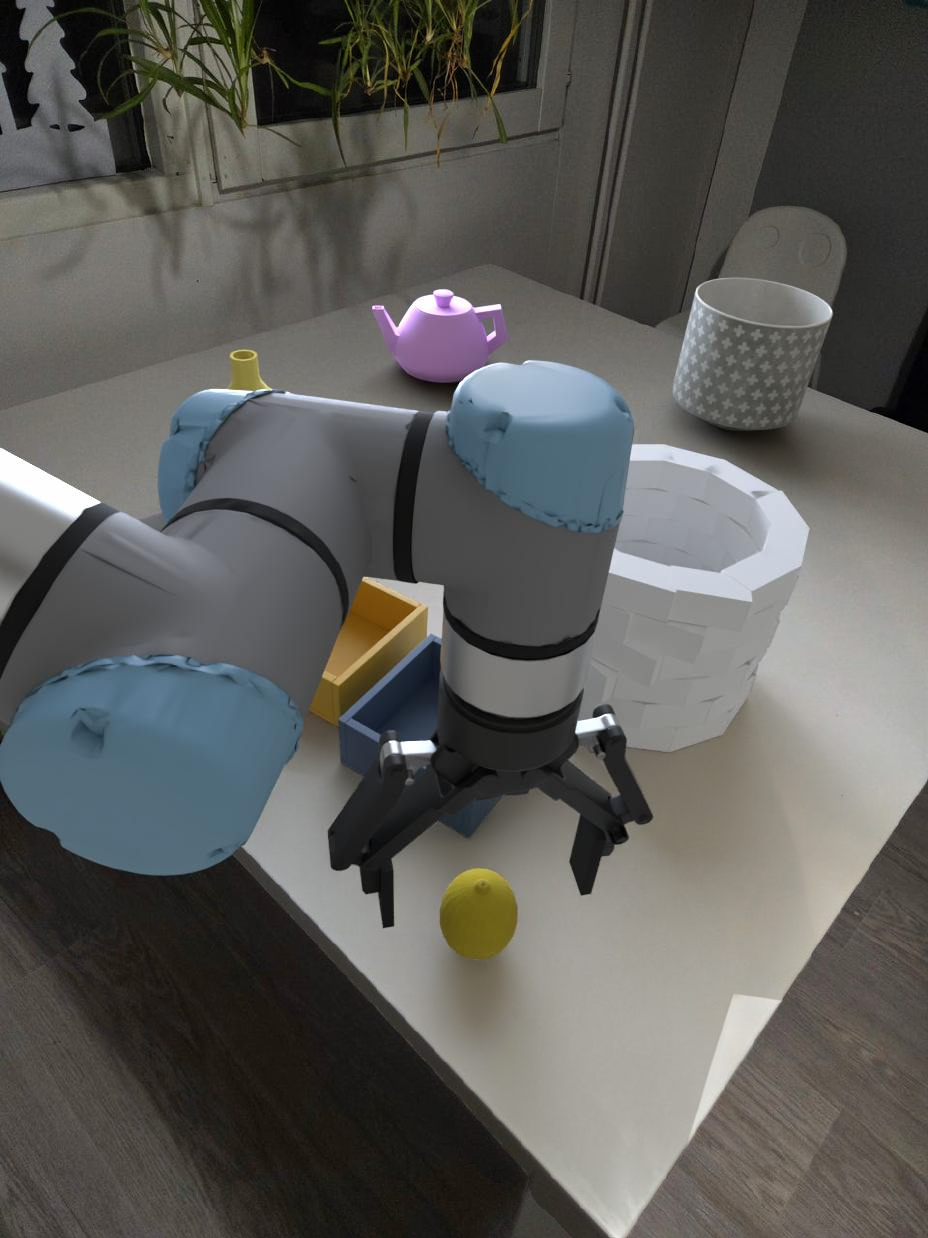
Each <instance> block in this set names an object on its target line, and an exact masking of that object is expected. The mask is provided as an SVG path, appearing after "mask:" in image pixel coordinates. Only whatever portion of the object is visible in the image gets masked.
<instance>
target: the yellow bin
mask: <svg viewBox="0 0 928 1238" xmlns="http://www.w3.org/2000/svg"><path fill="white" fill-rule="evenodd" d="M428 614H429V606H427V605H425V604H424V603H421V602H419V601H417V600H415V599H412V598H410V597H408V596H406V595H404V594H402V593H400V592H397V591H396V590H394V589H391V588H389V587H388V586H385V585H384V584H381V583H379V582H377V581H376V580H373V579H371V578H370V577H363V579H362V582H361V584H360V587H359V589H358V591H357V594H356V596H355V599H354V601H353V604H352V606H351V609H350V611H349V613H348V616H347V618H346V621H345V623H344V624H343V626H342V628H341V630H340V632H339V635H338V637H337V640H336V642H335V645H334V647H333V650H332V652H331V655H330V658H329V660H328V663H327V665H326V668H325V670H324V673H323V676H322V678H321V681H320V683H319V686H318V688H317V691H316V694H315V696H314V699H313V701H312V704H311V706H310V709H309V711H308V712H311V713H313V714H314V715H316V716H318V717H320V718H321V719H322V720H324V721H326V722H328V723H330V725H331V724H332V725H333V726H334V727H337V728H338V719H339V718H340V717H341V716H342V715H343V714H345V713H346V712H347V711H348V710H349V709H350V708H351V707H352V706H353V705H354V704H355V703H356V702H357V701H359V700H360V699H361V698H362V697H363V696H364V695H365V694H366V693H367V692H368V691H369V690H370V689H371V688H373V687H374V686H375V685H376V684H377V683H378V682H379V681H380V680H381V679H382V678H383V677H384V676H385V675H387V674H388V673H389V672H390V671H391V670H392V669H393V668H394V667H395V666H396V665H397V664H398V663H399V662H401V661H402V660H403V659H404V658H405V657H406V656H407V655H408V654H409V653H410V652H411V651H412V650H413V649H415V648H416V647H417V646H418V645H419V644H420V643H421V642H422V641H423V640H424V639H425V638H426V637H427V636H428V621H429V620H428V618H429V617H428Z"/></svg>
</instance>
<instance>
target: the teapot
mask: <svg viewBox="0 0 928 1238" xmlns="http://www.w3.org/2000/svg"><path fill="white" fill-rule="evenodd" d="M372 313H373V316H374V318H375V321H376V322H377V325H378V327H379V329H380V332H381V334H382V337H383V339H384V342H385V344H386V347H387V349H388V351H389V354H390V355H393V356H394V359H395V361H396V363H398V365H399V366H400V367H401V369H402V370H403V371H405V372H406V373H407V374H408V375H409V376H410V377H411V376H412V377H413V378H416V379H419V380H422V381H426V382H431V383H442V384H443V383H447V384H449V383H458V382H461V381H463V380H464V379H465V378H466V377H467V376H468V375H470V374H471V373H473V372H474V371H476V370H478V369H480V368H482V367H485V366H486V364H487V363H488V360H489V357H490V355H492V354H493V353H494V352H495V351H496V350H498V349H499V348H501V347H502V346H503V345H504V344H505V343H507V342H508V341H509V340H510V339H509V334H508V329H507V326H506V322H505V317H504V314H503V313H504V312H503V310H502V306H501V304H500V303H499V304H491V305H484V306H478V307H474V306H473V305H472V304H471V303H470V302H469V301H468V300H466V299H465V298H462V297H459V296H455V295H454V292H453V291H451V290H449V289H437V290H434V291H433V294H429V295H424V296H421V297H419V298H417V299H415V301H413V303H412V304H411V306H410V307H409V308H408V310H407V311H406V312H405V314H404V316H403V318H402V319H401V321H400V323H399V325H398V326H396V325H395V323H394V322H393V320H392V318H391V317H390V315H389V314H388V312H387V310H386V309H385V306H384V305H372ZM489 318H490V319H491V318H492V320H493V327H494V331H492V332H491V333H489V334H488V335H487V332H486V330H485V327H484V326H483V323H482V321H483V320H486V319H489Z"/></svg>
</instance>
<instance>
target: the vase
mask: <svg viewBox="0 0 928 1238" xmlns="http://www.w3.org/2000/svg"><path fill="white" fill-rule="evenodd" d="M229 361H230V367H231V375H232V376H231V381H230V383H229V385H228V386H227V388H225V390H241V391H257V390H261V389H266V390H270V391H271V390H272V389H273V388H271V387H269V386H268V385H267V384H266V383H265V382H264V381H263V380H262V378H261V375H260V367H259V358H258V353H257V352H256V351H254V350H252V349H236V350H234V351H231V352H230V353H229Z"/></svg>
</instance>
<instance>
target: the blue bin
mask: <svg viewBox="0 0 928 1238" xmlns="http://www.w3.org/2000/svg"><path fill="white" fill-rule="evenodd" d="M441 641H442V637H439V636H438V635H435V634H434V633H429V634H428V635H427V637H426V638H425V639H424V640H423V641H422V642H421V643H420V644H419V645H418V646H417V647H416V648H415V649H413V650H412V651H411V652H410V653H409V654H408V655H407V656H406V657H405V658H404V659H403V660H402V661H401V662H399V663H398V664H397V665H396V666H395V667H394V668H393V669H392V670H391V671H390V672H389V673H388V674H387V675H385V676H384V677H383V678H382V679H381V680H380V681H379V682H378V683H377V684H376V685H375V686H374V687H373V688H371V689H370V690H369V691H368V692H367V693H366V694H365V695H364V696H363V697H362V698H361V699H360V700H359V701H357V702H356V703H355V704H354V705H353V706H352V707H351V708H350V709H349V710H348V711H347V712H346V713H345V714H343V715H342V716H341V717H340V718H339V719H338V727H337V728H338V743H339V760H340V763H342V764H343V765H344V766H346V767H348V768H350V769H351V770H353V771H355V772H357V773H358V774H359V775H361V776H363V777H364V776H365V774H366V773H367V772H368V770H369V769H370V767H371V766H372V764H373V763H374V761H375V760H376V758H377V752H378V745H379V738H380V736H381V735H382V734H383V733H384V732H386V731H391V730H393V731H397V732H399V733H400V734H401V739H402V742H415V741H428V740H429V738H430V737H431V735H432V734H433V733H434V731H435V730H436V728H437V722H438V699H439V677H440V669H441V661H440V657H441ZM425 769H426V766H424V767H422V768H420V769H419V770H418V772H417V774H416V775H415V776H413V777H414V782H415V781H417V780H418V779H419V778H420V777H421V776H422V775H423V774H424V773H425ZM410 786H411V785H409V786H407V785H405V787H404V790H403V792H404V791H405V790H406V789H407V788H409V787H410ZM452 786H453V785H452ZM454 788H455V786H453V789H454ZM503 796H504V795H501V796H498V797H495V798H491V799H487V800H479V801H477V800H476V798H475V799H474V800H473V801H471V802H470V803H469V804H468V805H467V806H465V807H464V808H463V809H462V810H460V811H459V812H458V813H457V814H456V815H454V816H450V815H448V814H445V815H444V816H443V817H442V818H440V819H439V820H438V821H437V822H440V823H442V824H443V825H445V826H447V827H448V828H450V829H452V830H453V831H455V832H457V833H458V834H460V835H461V836H463V837H465V838H467V840H468V839H471V838H472V836H473V834H474V833H475V832H476V831H477V830H478V828H479V827H480V826H481V824H482V823H483V822H484V821H485V819H486V818H487V817H488V815H489V814H490V813H491V812H492V810H493V809H494V807H496V805H497V804H498V803H499V802H500V800H501V799H502V797H503Z"/></svg>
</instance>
